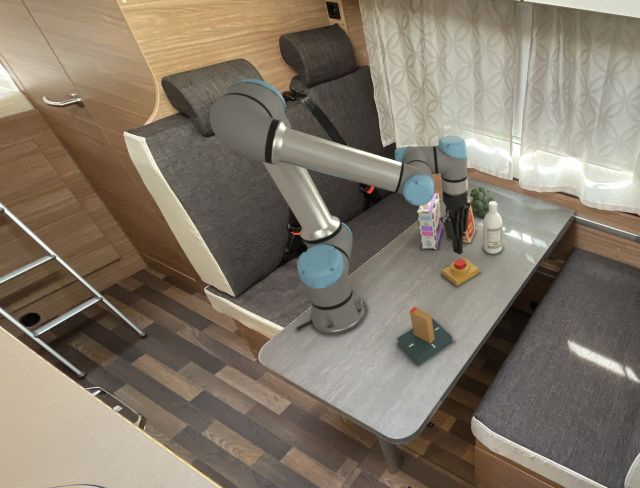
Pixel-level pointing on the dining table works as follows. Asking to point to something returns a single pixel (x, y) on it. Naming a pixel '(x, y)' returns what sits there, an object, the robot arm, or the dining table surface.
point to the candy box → (430, 223)
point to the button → (460, 264)
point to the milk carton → (469, 227)
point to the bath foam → (492, 230)
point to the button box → (460, 272)
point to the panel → (424, 343)
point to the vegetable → (481, 200)
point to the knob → (422, 325)
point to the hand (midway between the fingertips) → (458, 252)
